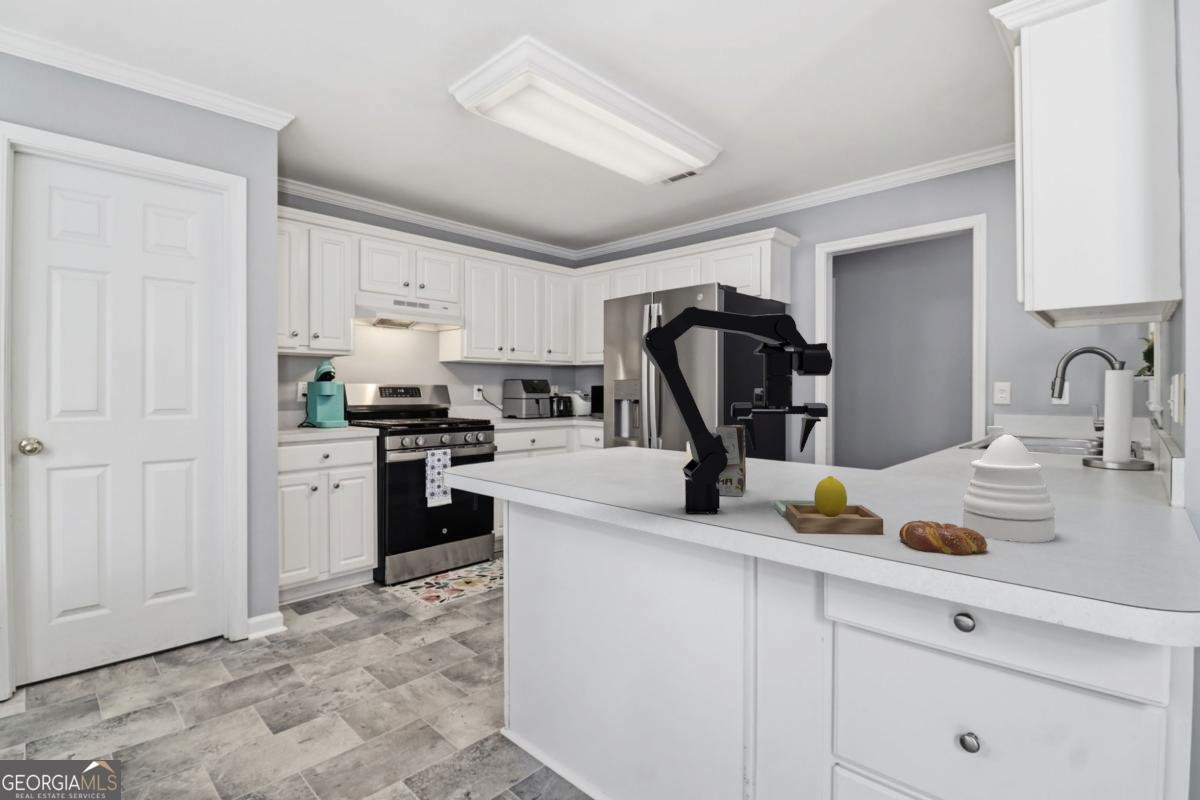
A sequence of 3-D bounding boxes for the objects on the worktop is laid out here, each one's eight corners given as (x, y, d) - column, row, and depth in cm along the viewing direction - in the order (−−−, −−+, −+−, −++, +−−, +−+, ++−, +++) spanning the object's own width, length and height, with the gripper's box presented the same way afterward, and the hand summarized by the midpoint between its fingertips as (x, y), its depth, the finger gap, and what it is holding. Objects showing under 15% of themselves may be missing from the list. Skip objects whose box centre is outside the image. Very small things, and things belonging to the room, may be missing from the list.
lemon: (850, 523, 104) (850, 478, 103) (817, 522, 105) (817, 477, 104) (843, 516, 109) (843, 473, 109) (811, 516, 110) (811, 473, 110)
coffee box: (743, 497, 135) (742, 427, 135) (715, 495, 137) (714, 426, 137) (746, 490, 144) (746, 424, 143) (720, 489, 146) (719, 424, 146)
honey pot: (945, 528, 104) (945, 426, 103) (993, 521, 109) (993, 423, 108) (1023, 546, 92) (1023, 431, 91) (1072, 537, 97) (1072, 428, 96)
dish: (782, 516, 114) (782, 510, 114) (773, 505, 125) (773, 499, 125) (841, 517, 113) (841, 511, 113) (827, 506, 124) (827, 500, 124)
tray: (798, 532, 102) (798, 517, 102) (785, 517, 114) (785, 504, 114) (883, 534, 100) (883, 519, 100) (861, 518, 112) (861, 504, 112)
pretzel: (994, 547, 92) (994, 523, 92) (977, 562, 84) (977, 537, 84) (911, 534, 101) (911, 513, 101) (889, 547, 93) (889, 524, 93)
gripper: (818, 376, 127) (817, 448, 128) (730, 377, 131) (729, 447, 131) (828, 375, 116) (828, 454, 117) (732, 376, 120) (732, 452, 120)
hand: (777, 451), depth 121 cm, fingers open, 9 cm apart
